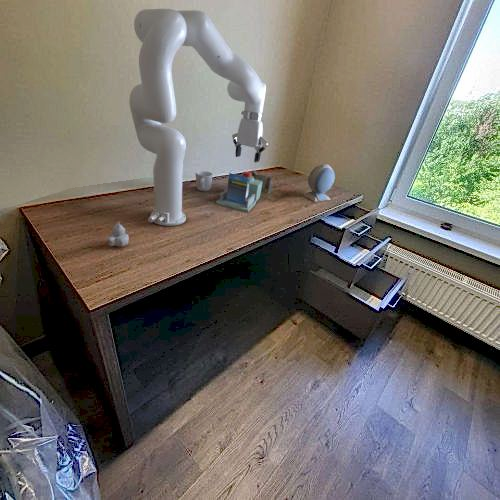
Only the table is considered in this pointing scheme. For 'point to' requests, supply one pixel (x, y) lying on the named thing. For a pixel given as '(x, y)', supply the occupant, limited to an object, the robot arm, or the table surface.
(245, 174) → the button
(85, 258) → the table surface
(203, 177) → the cup
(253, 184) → the red push button box
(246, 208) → the drip tray
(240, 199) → the label tape box
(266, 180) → the architectural model on board
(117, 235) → the grey lumpy cone shape
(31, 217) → the table surface
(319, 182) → the alarm clock
